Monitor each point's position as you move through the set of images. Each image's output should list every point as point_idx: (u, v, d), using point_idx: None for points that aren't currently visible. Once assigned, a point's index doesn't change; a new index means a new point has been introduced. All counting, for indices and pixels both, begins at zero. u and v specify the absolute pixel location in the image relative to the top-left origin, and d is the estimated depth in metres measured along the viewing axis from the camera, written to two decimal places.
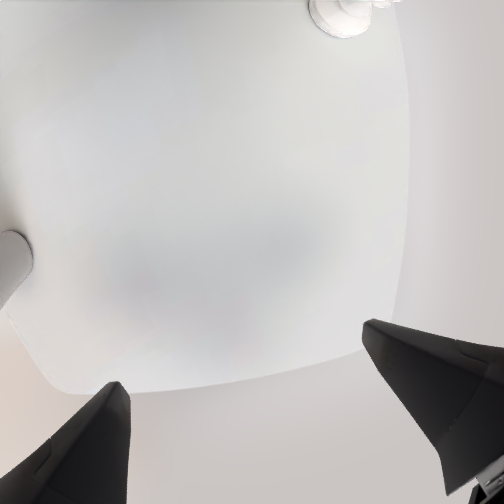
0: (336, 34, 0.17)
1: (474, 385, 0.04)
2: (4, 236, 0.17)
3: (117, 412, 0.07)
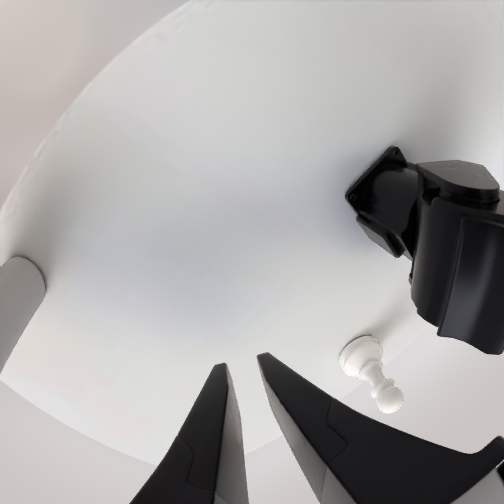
0: (341, 366, 0.29)
1: (322, 466, 0.04)
2: (33, 281, 0.17)
3: (233, 395, 0.08)
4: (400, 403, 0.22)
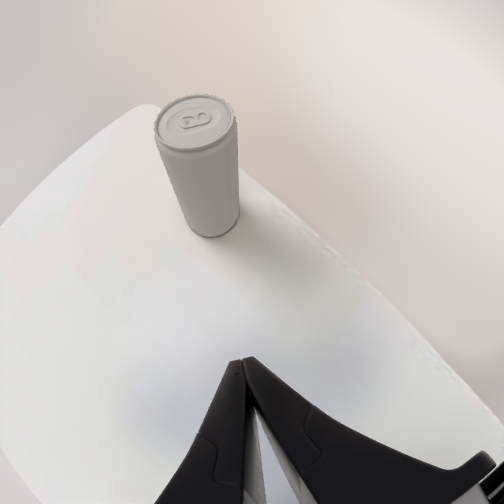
0: None
1: (296, 474, 0.04)
2: (219, 228, 0.23)
3: (249, 391, 0.08)
4: None
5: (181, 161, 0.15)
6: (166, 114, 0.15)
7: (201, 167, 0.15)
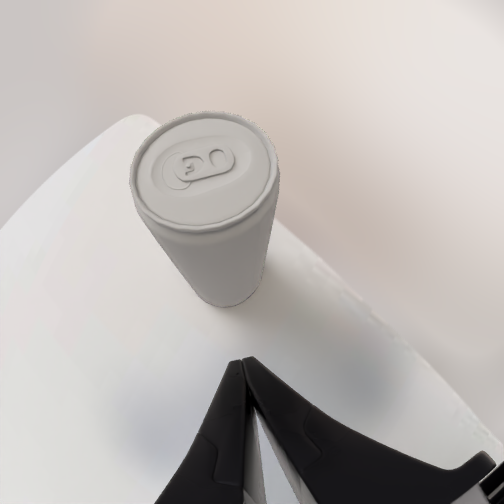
0: None
1: (296, 474, 0.04)
2: (238, 300, 0.17)
3: (249, 391, 0.08)
4: None
5: (183, 247, 0.08)
6: (152, 150, 0.08)
7: (219, 254, 0.09)
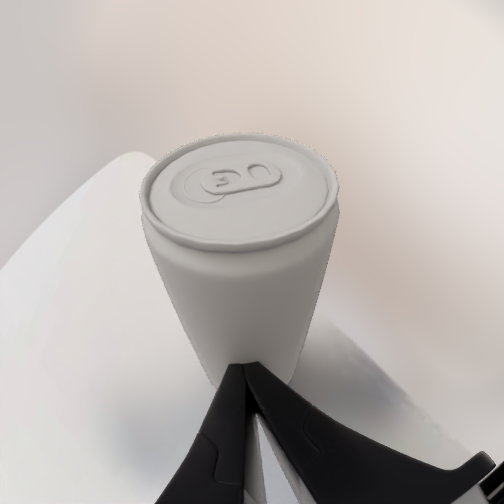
0: None
1: (295, 474, 0.04)
2: None
3: None
4: None
5: (209, 283, 0.05)
6: (172, 166, 0.07)
7: (262, 301, 0.06)
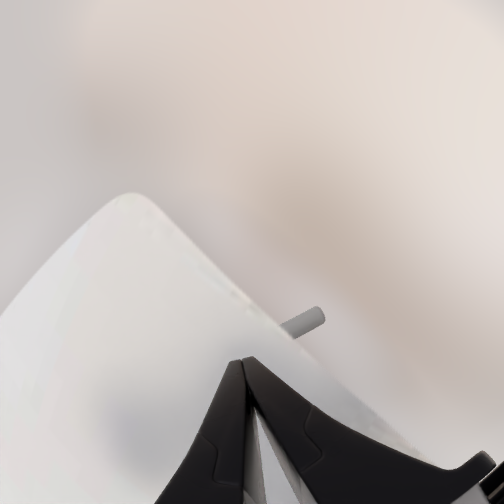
0: None
1: (296, 474, 0.04)
2: None
3: (249, 391, 0.08)
4: None
5: None
6: None
7: None
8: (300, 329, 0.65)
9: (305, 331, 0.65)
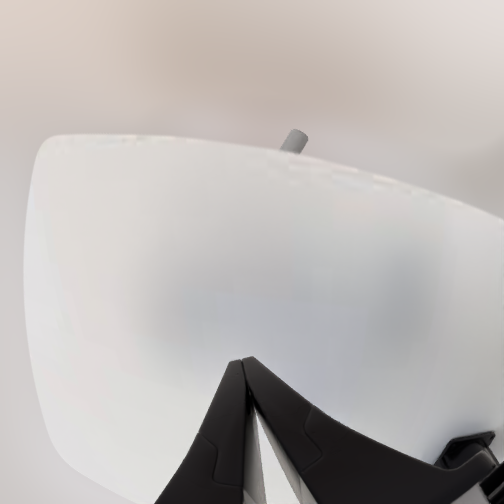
0: None
1: (296, 474, 0.04)
2: None
3: (249, 391, 0.08)
4: None
5: None
6: None
7: None
8: None
9: None
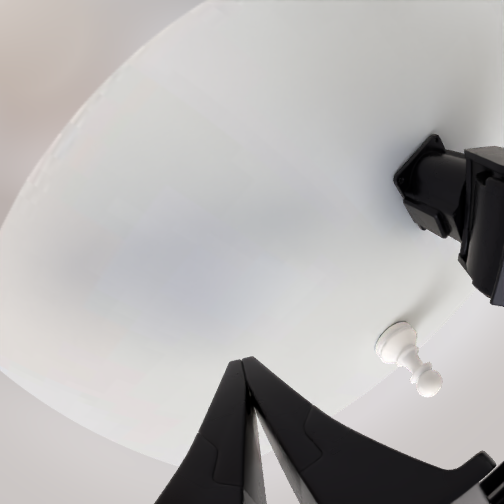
0: (377, 353, 0.28)
1: (296, 474, 0.04)
2: None
3: (249, 391, 0.08)
4: (440, 386, 0.21)
5: None
6: None
7: None
8: None
9: None
